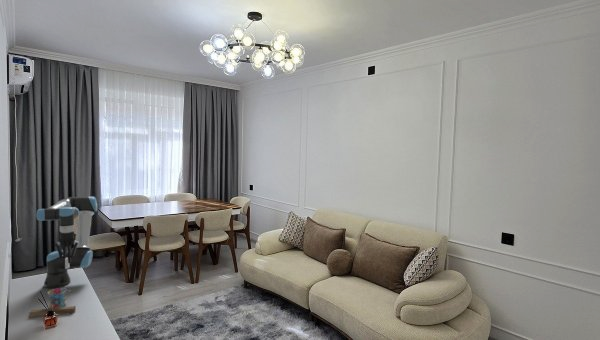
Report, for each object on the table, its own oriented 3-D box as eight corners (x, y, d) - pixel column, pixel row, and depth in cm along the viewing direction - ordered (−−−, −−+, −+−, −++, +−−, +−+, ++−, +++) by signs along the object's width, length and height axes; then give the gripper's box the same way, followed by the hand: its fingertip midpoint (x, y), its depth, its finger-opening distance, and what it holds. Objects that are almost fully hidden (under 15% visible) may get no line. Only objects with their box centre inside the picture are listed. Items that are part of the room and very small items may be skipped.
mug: (50, 313, 192) (49, 295, 191) (45, 308, 198) (45, 291, 197) (74, 306, 201) (73, 289, 200) (69, 301, 207) (68, 285, 206)
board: (31, 314, 189) (31, 309, 189) (75, 310, 195) (75, 305, 195) (29, 317, 187) (29, 312, 186) (73, 313, 192) (73, 308, 192)
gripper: (52, 233, 203) (52, 270, 205) (76, 232, 207) (76, 269, 208) (57, 230, 211) (58, 266, 212) (80, 229, 214) (81, 265, 216)
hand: (67, 267), depth 210 cm, fingers closed
